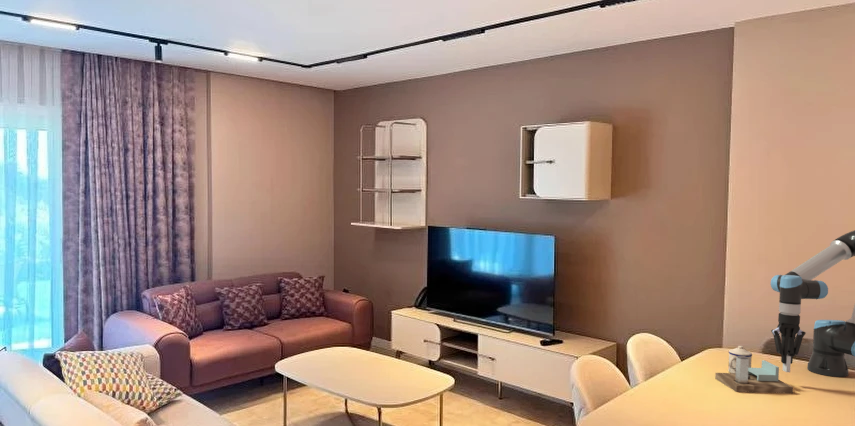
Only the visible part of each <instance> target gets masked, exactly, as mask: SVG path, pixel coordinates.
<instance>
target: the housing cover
mask: <svg viewBox="0 0 855 426" xmlns="http://www.w3.org/2000/svg"><path fill="white" fill-rule="evenodd" d="M779 373H780V367H779V366H777V365H775V364H773V363H771V362H769V361H767V360H763V359H762V360H761V367H751V368H748V374H755V375H756V376H757V380H758V381H778V380H779V376H780V375H779Z"/></svg>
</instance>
